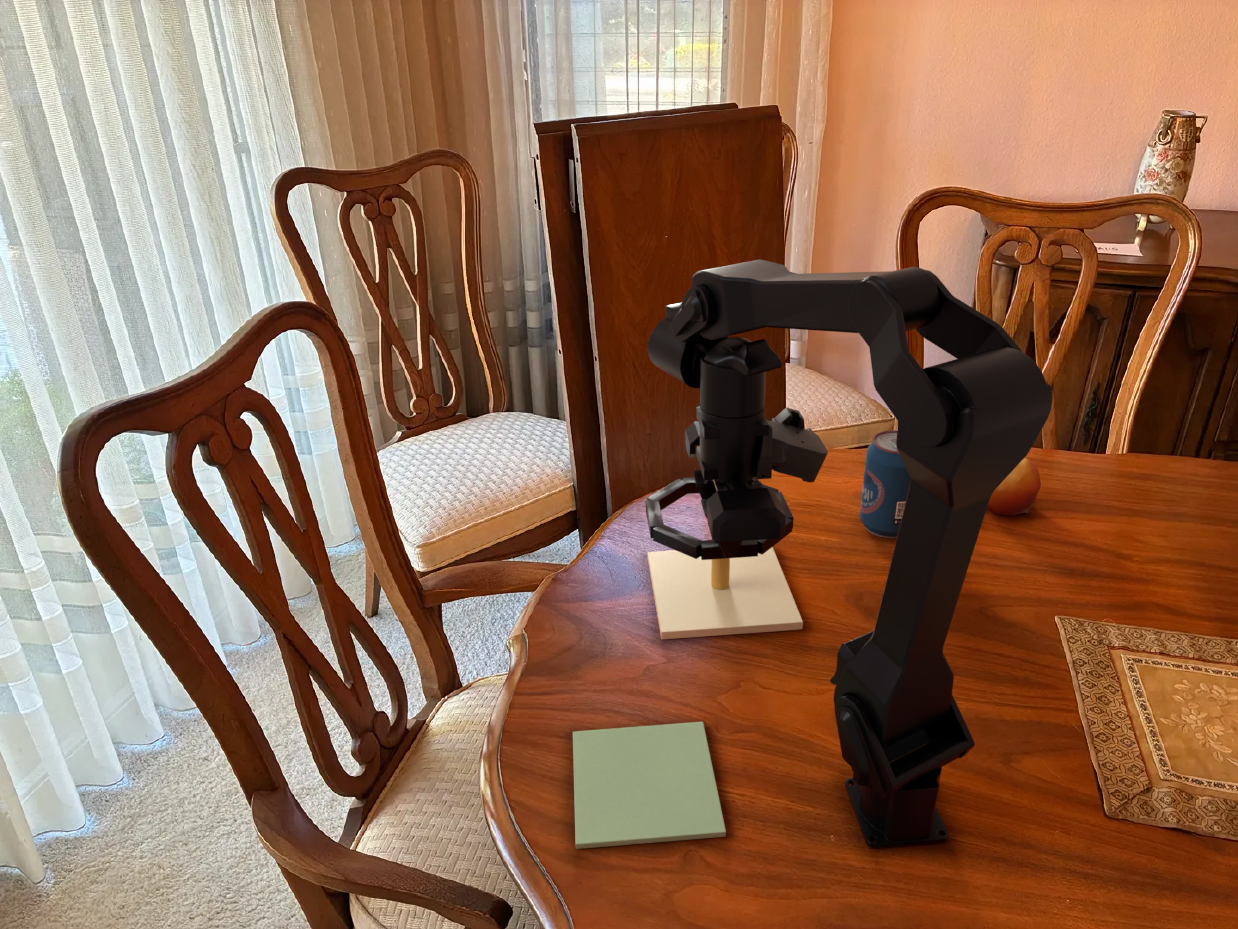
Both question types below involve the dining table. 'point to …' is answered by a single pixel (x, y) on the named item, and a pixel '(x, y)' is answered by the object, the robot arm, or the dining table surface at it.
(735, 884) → the dining table surface
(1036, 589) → the dining table surface
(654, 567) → the stand
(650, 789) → the mat
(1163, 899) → the dining table surface
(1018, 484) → the fruit
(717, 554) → the ring
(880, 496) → the soda can
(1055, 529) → the dining table surface
